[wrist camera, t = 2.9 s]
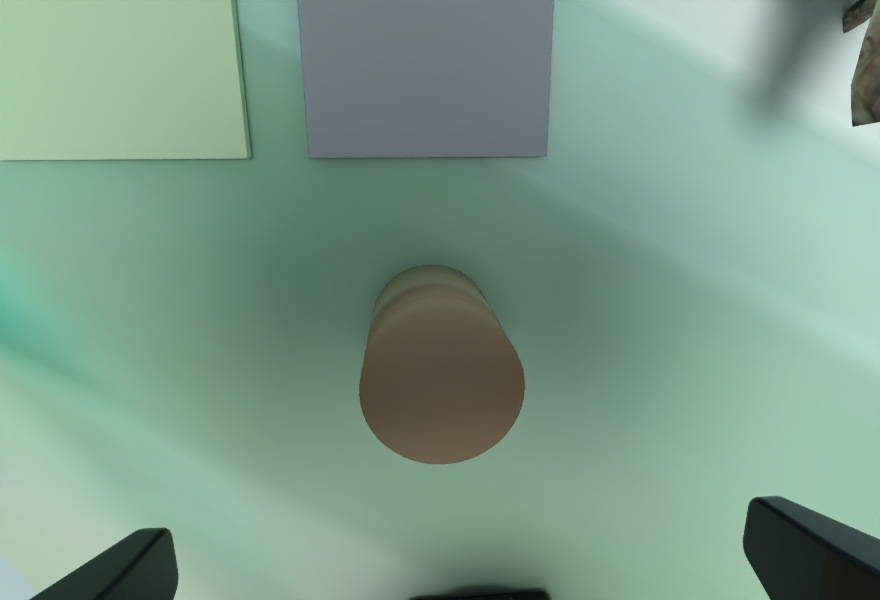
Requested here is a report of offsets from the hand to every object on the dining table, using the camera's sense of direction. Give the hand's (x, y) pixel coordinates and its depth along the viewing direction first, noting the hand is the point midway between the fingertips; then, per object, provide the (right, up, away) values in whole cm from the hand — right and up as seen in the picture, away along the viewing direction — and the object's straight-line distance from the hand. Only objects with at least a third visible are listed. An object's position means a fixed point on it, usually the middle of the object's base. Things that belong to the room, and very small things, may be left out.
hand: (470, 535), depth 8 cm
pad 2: (-1, +12, +9) cm, 15 cm away
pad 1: (-11, +12, +8) cm, 18 cm away
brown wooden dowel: (-1, +3, +11) cm, 12 cm away
